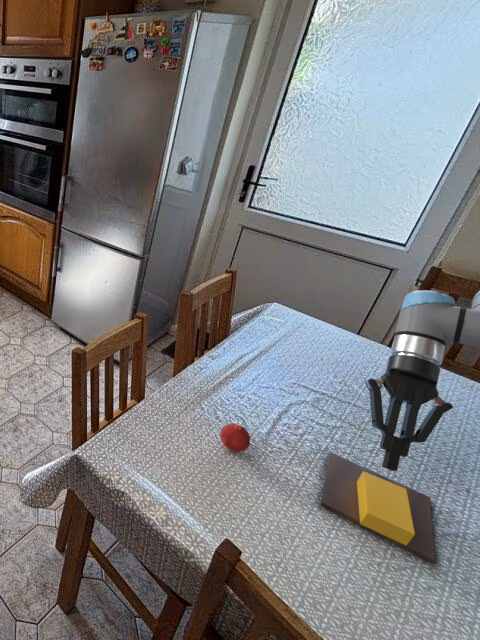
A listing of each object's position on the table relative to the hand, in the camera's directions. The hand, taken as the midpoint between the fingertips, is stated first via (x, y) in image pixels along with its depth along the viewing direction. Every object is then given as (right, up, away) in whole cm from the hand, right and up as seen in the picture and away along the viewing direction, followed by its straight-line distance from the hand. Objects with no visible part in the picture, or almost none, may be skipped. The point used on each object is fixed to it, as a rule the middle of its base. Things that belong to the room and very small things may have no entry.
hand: (389, 468), depth 83 cm
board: (-2, -8, +1) cm, 8 cm away
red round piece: (-24, -2, +13) cm, 27 cm away
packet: (0, -4, +1) cm, 4 cm away
